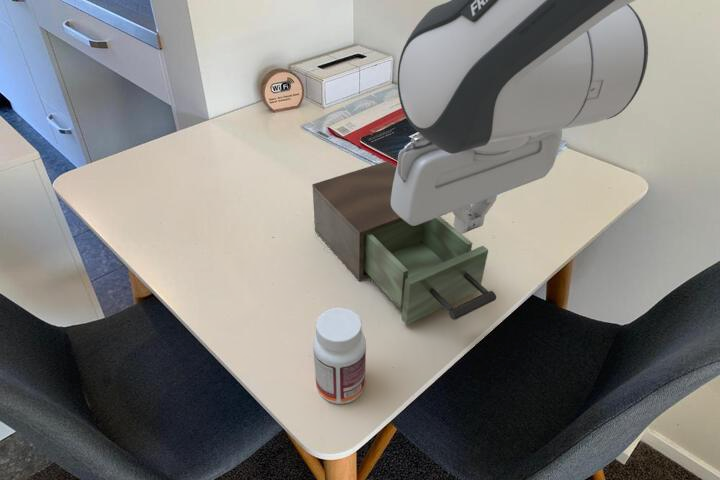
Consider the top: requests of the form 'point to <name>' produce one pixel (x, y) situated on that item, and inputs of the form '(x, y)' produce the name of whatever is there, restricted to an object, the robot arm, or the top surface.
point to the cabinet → (354, 211)
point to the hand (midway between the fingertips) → (467, 227)
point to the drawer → (426, 268)
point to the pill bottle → (339, 355)
